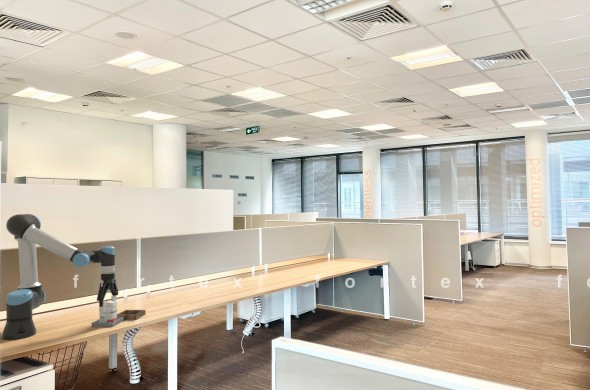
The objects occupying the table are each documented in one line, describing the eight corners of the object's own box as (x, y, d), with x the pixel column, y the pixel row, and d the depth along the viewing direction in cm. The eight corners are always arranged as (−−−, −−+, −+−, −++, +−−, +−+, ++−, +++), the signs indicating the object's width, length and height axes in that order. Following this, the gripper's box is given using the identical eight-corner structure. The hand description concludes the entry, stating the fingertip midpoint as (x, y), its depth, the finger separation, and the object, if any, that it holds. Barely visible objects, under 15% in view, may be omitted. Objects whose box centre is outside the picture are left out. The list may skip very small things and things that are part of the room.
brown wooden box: (115, 319, 254) (115, 314, 254) (125, 314, 267) (125, 309, 267) (136, 319, 253) (136, 314, 253) (145, 314, 266) (145, 309, 266)
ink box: (117, 321, 248) (117, 301, 248) (112, 323, 243) (112, 303, 243) (104, 321, 250) (104, 300, 250) (98, 323, 245) (98, 302, 245)
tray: (91, 326, 240) (91, 322, 240) (103, 320, 253) (103, 317, 253) (113, 326, 239) (113, 322, 239) (123, 320, 252) (123, 317, 252)
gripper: (102, 276, 234) (103, 314, 233) (124, 269, 259) (124, 304, 258) (89, 276, 235) (89, 314, 234) (112, 269, 260) (112, 304, 259)
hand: (108, 309), depth 246 cm, fingers open, 13 cm apart
